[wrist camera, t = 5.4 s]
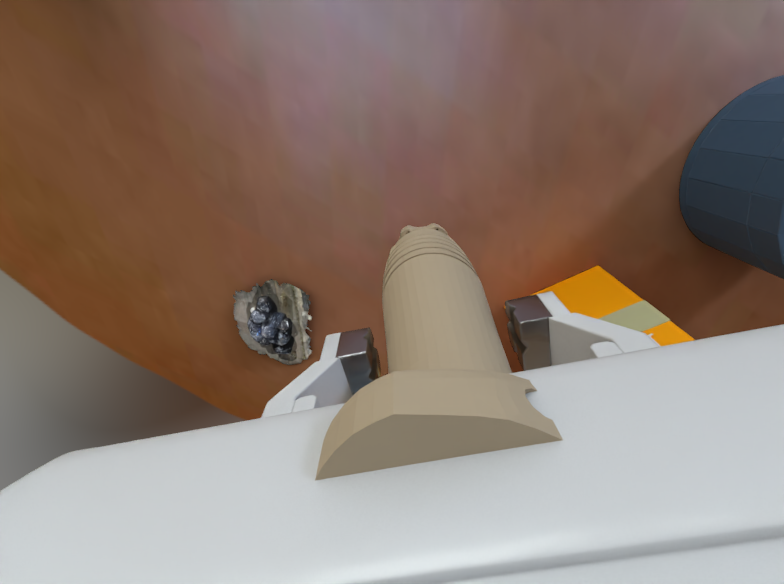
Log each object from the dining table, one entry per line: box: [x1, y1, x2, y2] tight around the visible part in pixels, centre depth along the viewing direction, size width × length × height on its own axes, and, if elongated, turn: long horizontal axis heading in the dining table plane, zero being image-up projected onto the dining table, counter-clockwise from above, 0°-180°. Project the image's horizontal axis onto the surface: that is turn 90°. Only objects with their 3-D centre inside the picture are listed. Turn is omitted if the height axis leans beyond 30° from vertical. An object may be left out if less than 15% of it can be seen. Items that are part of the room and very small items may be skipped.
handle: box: [315, 223, 563, 481], centre depth 14 cm, size 5×6×15 cm
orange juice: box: [504, 265, 694, 346], centre depth 23 cm, size 8×9×20 cm
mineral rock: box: [233, 279, 312, 365], centre depth 31 cm, size 7×8×2 cm
